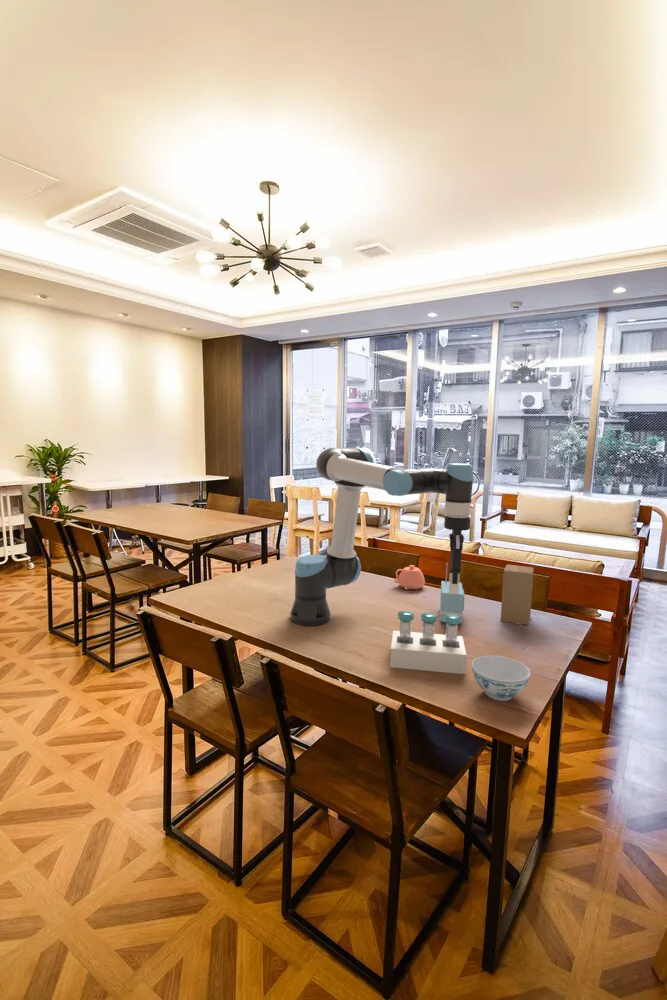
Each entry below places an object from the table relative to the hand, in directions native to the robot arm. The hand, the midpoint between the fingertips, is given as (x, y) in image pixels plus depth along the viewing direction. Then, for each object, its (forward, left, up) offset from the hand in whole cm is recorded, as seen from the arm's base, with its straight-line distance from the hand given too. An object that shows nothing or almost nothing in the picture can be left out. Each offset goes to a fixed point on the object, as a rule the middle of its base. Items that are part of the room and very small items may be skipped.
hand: (453, 592), depth 152 cm
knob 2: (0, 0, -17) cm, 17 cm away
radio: (+3, +40, -23) cm, 46 cm away
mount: (-7, 0, -22) cm, 24 cm away
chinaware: (+12, -17, -23) cm, 31 cm away
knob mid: (-7, 0, -17) cm, 19 cm away
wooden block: (+27, +43, -23) cm, 56 cm away
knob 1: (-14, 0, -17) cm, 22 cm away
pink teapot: (-14, +75, -23) cm, 80 cm away
